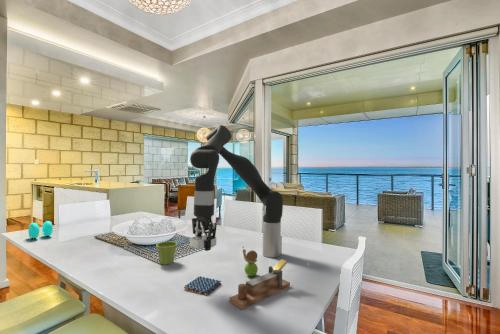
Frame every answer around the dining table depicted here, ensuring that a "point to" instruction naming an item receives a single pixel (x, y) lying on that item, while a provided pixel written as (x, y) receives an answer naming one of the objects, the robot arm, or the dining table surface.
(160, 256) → the plant pot
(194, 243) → the grey rough lump
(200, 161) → the robot arm
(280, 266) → the lever
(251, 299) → the plane body
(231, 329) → the dining table surface
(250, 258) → the green toy figurine
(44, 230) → the turquoise egg pair
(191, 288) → the woven mat
